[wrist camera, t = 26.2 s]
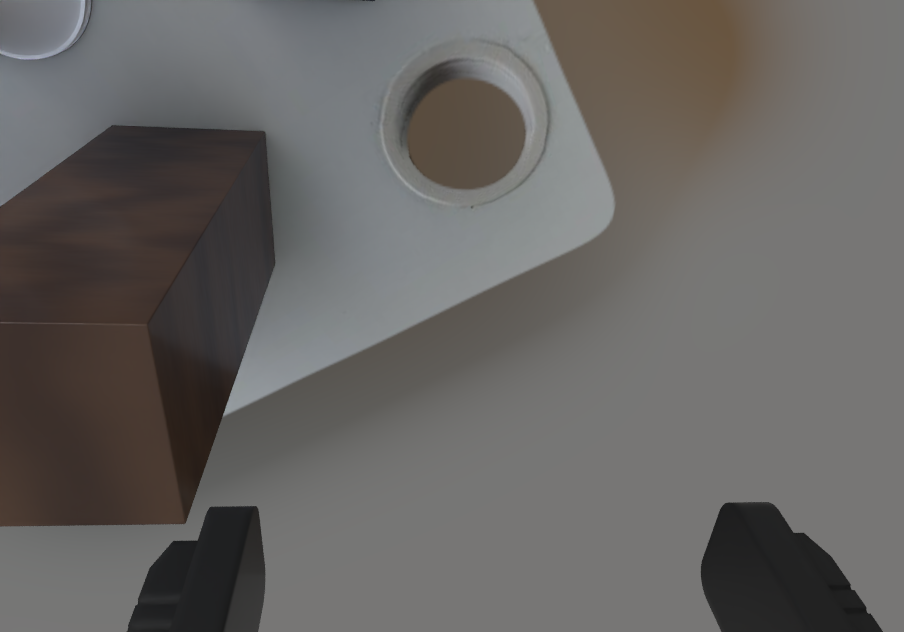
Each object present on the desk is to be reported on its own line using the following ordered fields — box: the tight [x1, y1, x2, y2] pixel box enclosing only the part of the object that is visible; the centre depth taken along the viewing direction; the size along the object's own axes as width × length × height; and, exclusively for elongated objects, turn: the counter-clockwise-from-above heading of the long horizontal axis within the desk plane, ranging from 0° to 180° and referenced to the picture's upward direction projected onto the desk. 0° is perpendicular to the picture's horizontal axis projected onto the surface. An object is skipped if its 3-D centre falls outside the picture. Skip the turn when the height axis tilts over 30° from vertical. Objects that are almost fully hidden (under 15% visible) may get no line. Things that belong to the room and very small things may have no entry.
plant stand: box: [0, 125, 275, 526], centre depth 33 cm, size 9×9×23 cm
